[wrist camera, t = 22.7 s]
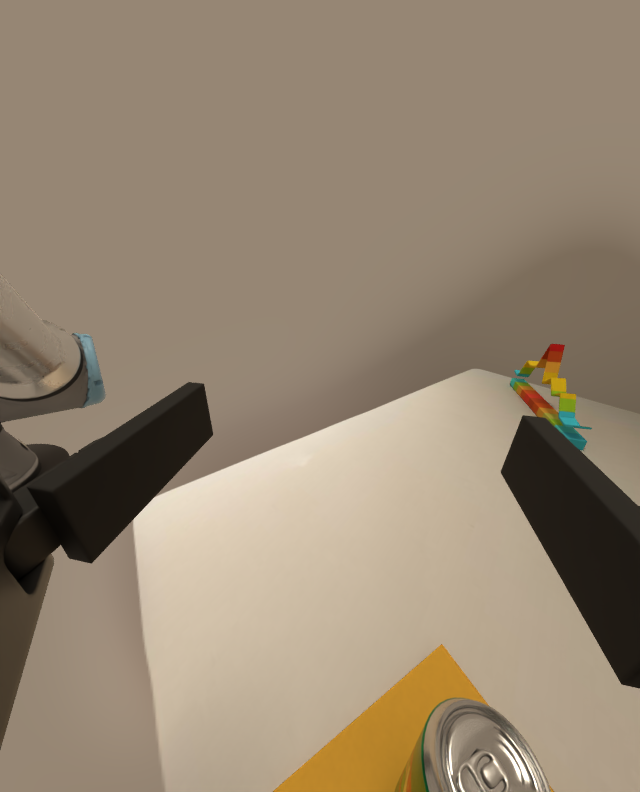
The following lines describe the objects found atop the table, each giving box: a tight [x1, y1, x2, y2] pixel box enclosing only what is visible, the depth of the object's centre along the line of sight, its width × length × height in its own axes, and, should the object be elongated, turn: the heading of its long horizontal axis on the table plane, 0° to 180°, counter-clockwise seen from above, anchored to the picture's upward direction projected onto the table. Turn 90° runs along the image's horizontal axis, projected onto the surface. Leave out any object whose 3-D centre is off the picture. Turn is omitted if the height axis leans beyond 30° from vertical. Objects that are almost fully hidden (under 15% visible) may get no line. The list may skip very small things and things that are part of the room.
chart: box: [510, 344, 592, 450], centre depth 62 cm, size 30×3×15 cm, turn 165°
